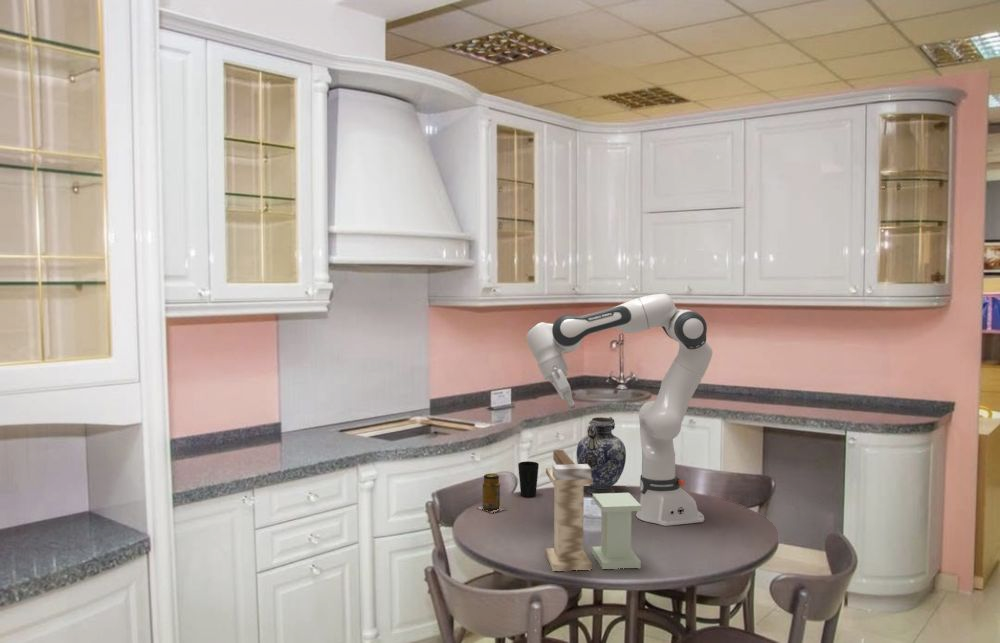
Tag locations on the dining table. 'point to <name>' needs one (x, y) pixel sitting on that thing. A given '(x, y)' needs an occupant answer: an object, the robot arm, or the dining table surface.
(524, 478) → the cup
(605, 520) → the pedestal low
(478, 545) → the dining table surface
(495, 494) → the condiment
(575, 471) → the mallet
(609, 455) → the decorative vase
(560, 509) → the pedestal tall
